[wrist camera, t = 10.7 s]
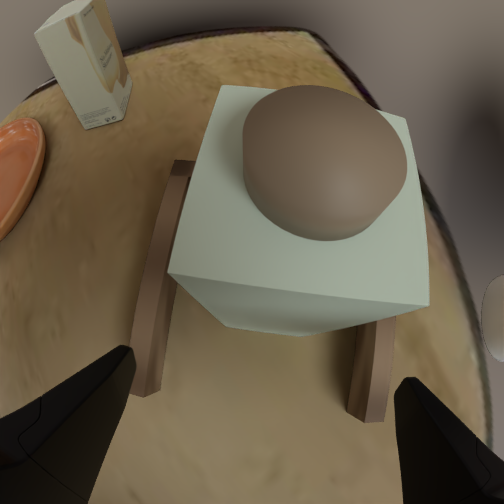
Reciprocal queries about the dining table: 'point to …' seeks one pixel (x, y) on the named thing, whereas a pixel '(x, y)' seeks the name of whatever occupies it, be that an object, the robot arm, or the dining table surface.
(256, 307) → the block
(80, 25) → the skincare box
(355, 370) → the box
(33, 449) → the robot arm
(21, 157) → the saucer
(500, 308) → the pill bottle
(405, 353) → the dining table surface
